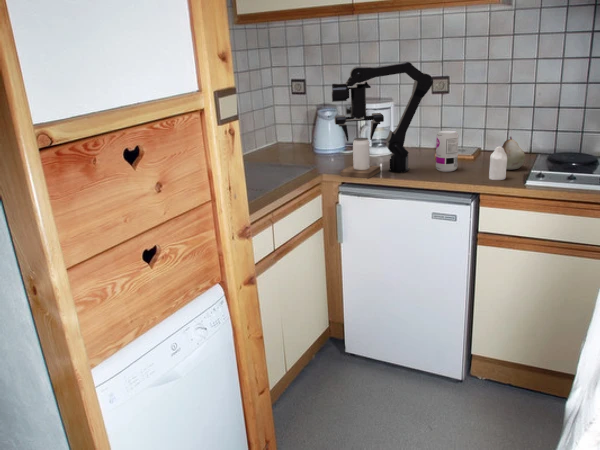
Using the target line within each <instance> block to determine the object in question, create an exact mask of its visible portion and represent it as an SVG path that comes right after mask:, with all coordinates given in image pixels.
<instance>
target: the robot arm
mask: <svg viewBox="0 0 600 450" xmlns="http://www.w3.org/2000/svg"><path fill="white" fill-rule="evenodd" d="M400 74H406V75H407V76H409V78H411V79H412V80H413V81H414V82H413V85H412V91H411V95H410V97H409V100H408V102H407V103H406V106H405V108H404V111H403V113H402V114H401V117H400V120H399V121H398V124H397V125H396V128H395V129H394V130H393V131H392V130H389V133H388V136H387V137H386V138H385V141H386V142H385V143H386V144H385V145H386V147H387V149H388V151H389V152H390V153H392V154H391V155H390V158H389V171H388V172H390V173H391V172H392V173H407V172H408V171H409V170H410V167H409V151H408V149H406V147H405V146H404V144H405V141H406V136H407V135H406V133H407V131H408V129H409V127H410V126H411V125H410V124H411V123H412V121H413V119H414V116H415V114H416V112H417V110H418V107H419V106H420V104H421V101H422V99H423V98H424V97H425V96H426V94H427V93H428V92H429V91H430V89H431V88H432V86H433V83H434V79H433V77H432V76H431V75H430V74H428V73H425V72H422V71H421V70H419V69H418V68H417V67H415V66H414V65H413V64H412V63H411V62H409V61H404V62H399V63H393V64H385V65H380V66H354V67H353V68H352V69H351V70H350V72H349V77H348V79H347V80H346V82H345V83H332V84H331V102H332V103H334V102H337V103H338V102H347V101H348V100H349V99H350V105H346V106H345V115H344V114H342V115H341V114H339V115H335V116H334V117H333V118H334V124H335V125H338V127H340V128H341V129H342V131H343V132H344V135H345V138H346V141H347V143H348V142H349V132H348V125H347V124H346V123H347V122H350V123H351V122H361V121H362V122H363V121H364V122H365V121H370V134H369V139H370V141H372V140H373V137H374V134H375V132H376V129H377V127H378V126H379V125H381V123H383V122H384V121H385V120H384V119H385V118H384V117H385V116H384V114H383V113H381V112H373V113H371V115H367V93H366V92H367V90H366V89H371V85H370V84H368V82H367V81H369V80H371V79H374V78H379V77H380V78H381V77H386V76H392V75H400ZM363 82H364V83H363ZM354 85H356V86H354ZM346 115H350V116H346Z"/></svg>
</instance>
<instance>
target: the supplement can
mask: <svg viewBox="0 0 600 450" xmlns="http://www.w3.org/2000/svg"><path fill="white" fill-rule="evenodd" d="M435 144H436V145H435V149H436V151H435V169H436V170H438V172H444V173H445V172H453V171H456V170H457V169H458V158H459V157H458V155H459V134H458V131H456V130H449V129H447V130H439V131H438V132H437V134H436V143H435Z"/></svg>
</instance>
